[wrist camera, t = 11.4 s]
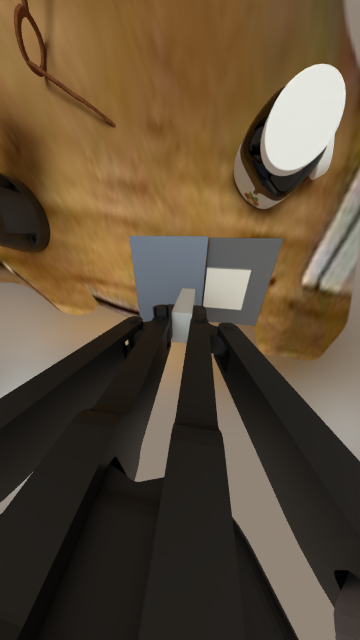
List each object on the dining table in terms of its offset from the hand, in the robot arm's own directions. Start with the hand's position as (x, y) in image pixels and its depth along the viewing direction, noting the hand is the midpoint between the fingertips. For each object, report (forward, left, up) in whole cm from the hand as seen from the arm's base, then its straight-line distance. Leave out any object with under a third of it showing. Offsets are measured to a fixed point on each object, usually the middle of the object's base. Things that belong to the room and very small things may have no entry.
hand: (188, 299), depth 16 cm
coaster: (+7, -3, -19) cm, 20 cm away
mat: (+9, -2, -19) cm, 21 cm away
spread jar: (+12, +18, -19) cm, 29 cm away
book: (-6, -2, -19) cm, 20 cm away
